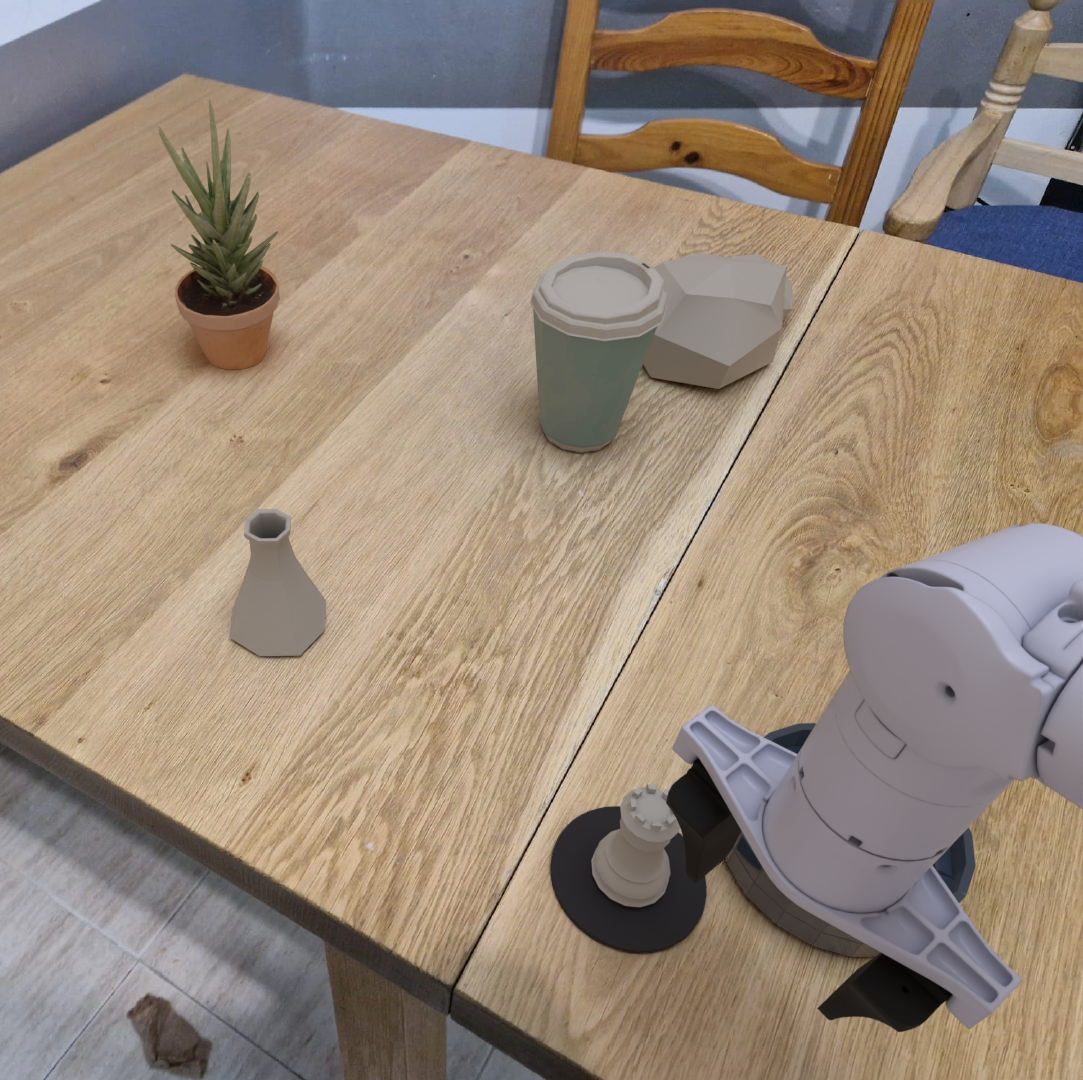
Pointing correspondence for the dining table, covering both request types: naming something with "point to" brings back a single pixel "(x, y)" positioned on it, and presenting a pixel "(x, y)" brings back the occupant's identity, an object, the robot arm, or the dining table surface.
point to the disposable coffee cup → (592, 343)
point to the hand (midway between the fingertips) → (767, 930)
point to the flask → (275, 592)
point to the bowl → (806, 926)
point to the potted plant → (224, 265)
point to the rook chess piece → (637, 849)
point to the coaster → (609, 918)
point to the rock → (718, 318)
